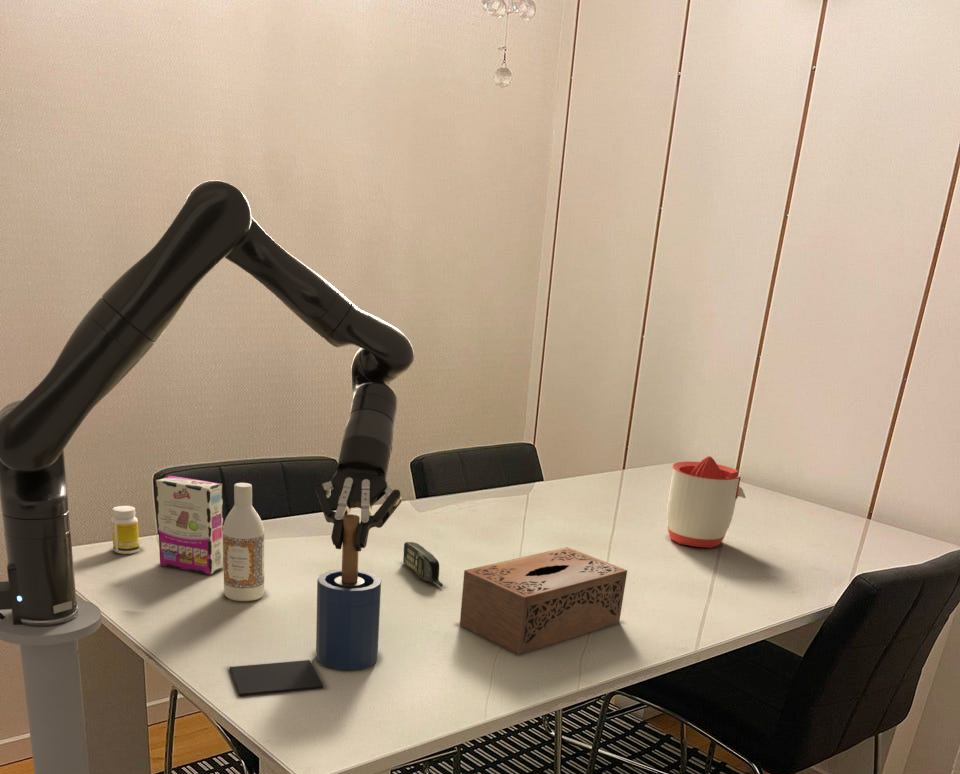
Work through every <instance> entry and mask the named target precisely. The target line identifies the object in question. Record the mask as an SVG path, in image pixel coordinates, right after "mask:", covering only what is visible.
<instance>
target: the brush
mask: <svg viewBox="0 0 960 774" xmlns="http://www.w3.org/2000/svg"><path fill="white" fill-rule="evenodd" d="M360 522H361V516H359V515H357V514H352V513H351V514H350V513H349V515H344V516H343V542H342V547H341V569H342V576H339V577H337V578H335V579H334V586H336V587H340V588H350V589H352V588H363V587H365V581H364V579H362V578H360V577H358V570H359V553H360V551H356V549H355V540H356V534H357V529H358V523H360Z"/></svg>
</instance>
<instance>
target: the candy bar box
mask: <svg viewBox="0 0 960 774" xmlns="http://www.w3.org/2000/svg"><path fill="white" fill-rule="evenodd" d="M155 490H156V509H157V511H156V512H157V528H158V548H159V549H158V550H159V565H160V566H163V567H167V568H172V569H173V568H174V569H179V570H183V571H189V572H195V573H200V574H205V575H210V576H211V575H213V574H216V573H217V572H219V571H221V570H224V569H223V526H224V507H223V505H224V504H223V503H224V502H223V501H224V500H223V483H220V482H219V483H218V482H212V481H208V480H200V479H194V478H188V477H181V476H176V475H168V476H165V477H161V478H160V479H156V480H155Z"/></svg>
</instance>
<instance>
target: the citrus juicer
mask: <svg viewBox="0 0 960 774" xmlns="http://www.w3.org/2000/svg"><path fill="white" fill-rule="evenodd" d="M740 483H741V476H739V470H737V469H735V468H732V467H729V466H726V465H722V464H719V463H718V464H717V462H716V461H715V459H714V458H713V457H712V456H706V457H705V458H703V459H702V460H701V461H677V462H675V463H673V464H672V474H671V480H670V486H669V492H668V497H667V498H668V499H667V506H666V522H667V523H666V524H667V532H668V534H669V538H670V539H671V540H672V541H674V542H676V544H678V545H686V546H690V547H695V548H696V547H697V548H706V549H713V548H714V547H717V546H719V545H720V544H721V542H723V540H724V538H725V536H726V534H727V531H728V530H729V528H730V525H731V523H732V520H733V516H734V512H735V508H736V502H737V499H738V498H742V499H746V498H747V497H746V494H745V492H744V489H743V488H742V487H741V486H740Z"/></svg>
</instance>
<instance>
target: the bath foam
mask: <svg viewBox="0 0 960 774" xmlns="http://www.w3.org/2000/svg"><path fill="white" fill-rule="evenodd" d="M233 495H234V496H233V499H234V500H233V501H234V504H233V506H232V508H231V509H230V511H229V512H228V514H227V516H226V517H225V520H224V521H223V569H222V570H223V593H224V596H225V597H227V598H228V599H230V600H232V601H237V602H252V601H256V600H259V599H261V598H262V597H263V596H264V594H265V527H264V523H263V520H262V519H261V516H260V515H259V514H258V511H256V509H255V508H254V506H253V486H252V484H251V483H248V482H236V483H234V485H233Z"/></svg>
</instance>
